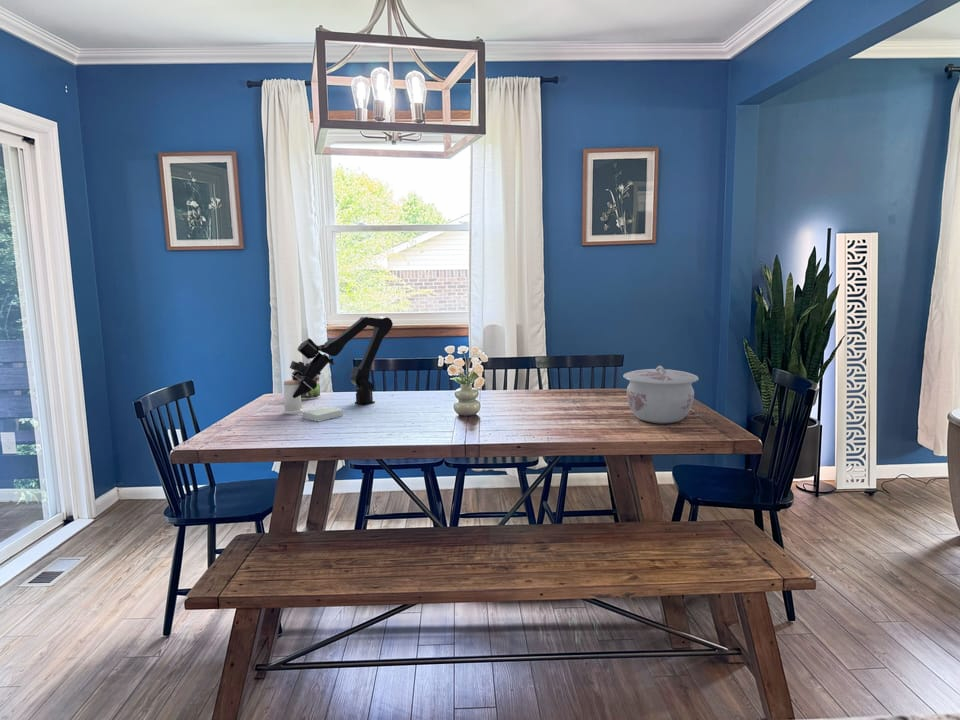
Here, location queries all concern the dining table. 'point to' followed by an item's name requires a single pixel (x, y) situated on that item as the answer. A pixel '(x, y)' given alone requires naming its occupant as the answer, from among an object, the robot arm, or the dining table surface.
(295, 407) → the cream jar
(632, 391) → the chamber pot
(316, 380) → the coffee can
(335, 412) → the sage block
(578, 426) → the dining table surface
